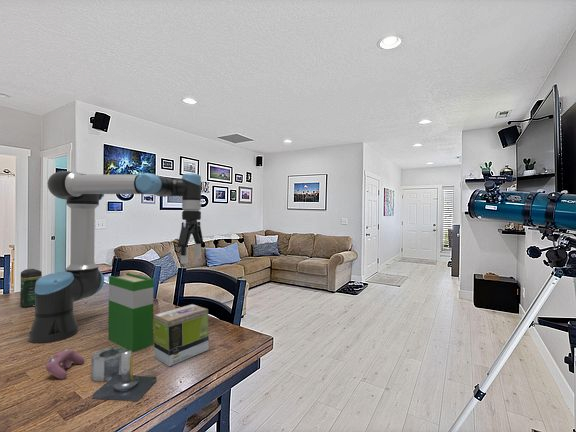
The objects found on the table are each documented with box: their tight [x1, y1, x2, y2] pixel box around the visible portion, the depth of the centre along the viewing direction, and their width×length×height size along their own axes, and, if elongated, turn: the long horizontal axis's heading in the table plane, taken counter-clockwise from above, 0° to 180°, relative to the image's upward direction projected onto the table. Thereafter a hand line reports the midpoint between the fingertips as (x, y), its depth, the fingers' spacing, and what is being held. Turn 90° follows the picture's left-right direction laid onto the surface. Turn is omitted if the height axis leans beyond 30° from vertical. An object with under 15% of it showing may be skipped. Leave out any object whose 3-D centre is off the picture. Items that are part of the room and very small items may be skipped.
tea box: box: [153, 303, 210, 367], centre depth 100 cm, size 15×10×15 cm, turn 141°
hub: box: [91, 346, 126, 383], centre depth 87 cm, size 8×8×6 cm
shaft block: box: [92, 349, 157, 402], centre depth 79 cm, size 12×9×10 cm
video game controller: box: [45, 348, 85, 380], centre depth 88 cm, size 10×5×7 cm, turn 5°
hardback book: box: [107, 272, 155, 353], centre depth 108 cm, size 18×7×24 cm, turn 55°
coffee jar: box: [19, 268, 43, 308], centre depth 150 cm, size 10×8×19 cm
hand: (191, 260), depth 123 cm, fingers open, 13 cm apart
